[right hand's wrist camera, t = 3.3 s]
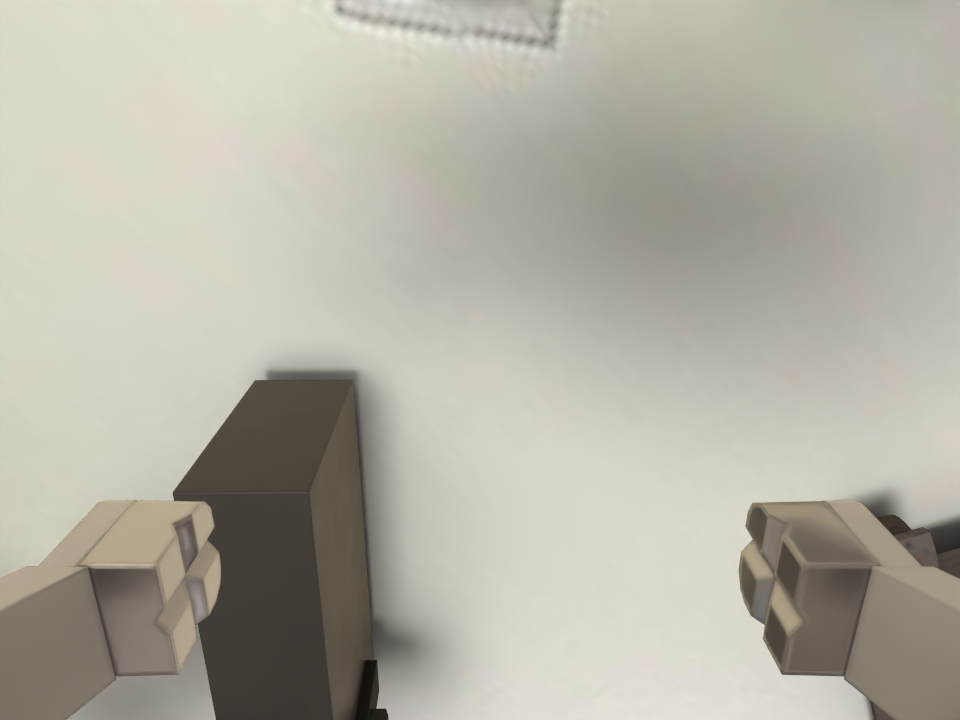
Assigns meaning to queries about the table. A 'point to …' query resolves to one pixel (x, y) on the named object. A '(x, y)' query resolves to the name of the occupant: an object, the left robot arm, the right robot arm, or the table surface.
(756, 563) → the right robot arm
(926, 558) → the toy
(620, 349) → the table surface
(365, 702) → the left robot arm
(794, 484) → the table surface
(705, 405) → the table surface
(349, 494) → the box
